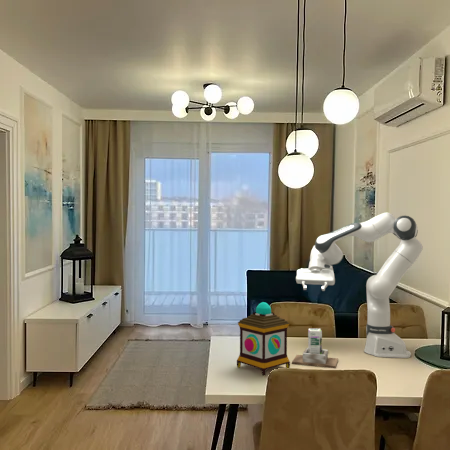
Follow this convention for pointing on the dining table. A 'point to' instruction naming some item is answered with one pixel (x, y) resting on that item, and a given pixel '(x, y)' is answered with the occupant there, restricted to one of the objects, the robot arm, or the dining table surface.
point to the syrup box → (315, 341)
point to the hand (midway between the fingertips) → (313, 289)
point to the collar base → (315, 359)
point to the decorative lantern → (263, 340)
